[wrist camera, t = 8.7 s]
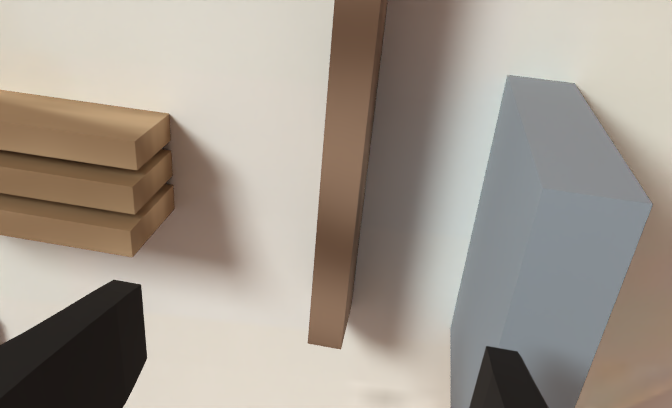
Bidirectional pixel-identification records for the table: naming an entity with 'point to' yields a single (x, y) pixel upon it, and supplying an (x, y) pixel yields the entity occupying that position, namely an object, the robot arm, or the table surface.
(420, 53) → the table surface
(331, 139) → the rack
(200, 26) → the table surface
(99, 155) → the offcut stack
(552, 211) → the grey upright plank
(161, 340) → the table surface
